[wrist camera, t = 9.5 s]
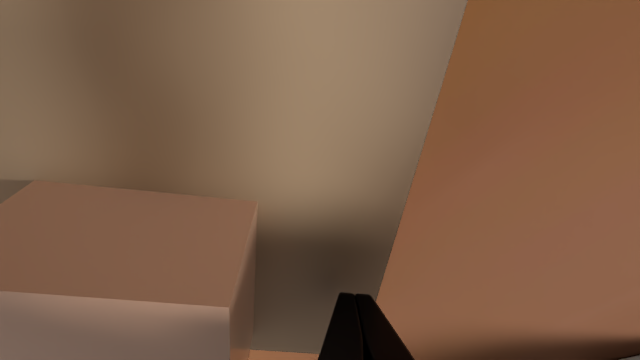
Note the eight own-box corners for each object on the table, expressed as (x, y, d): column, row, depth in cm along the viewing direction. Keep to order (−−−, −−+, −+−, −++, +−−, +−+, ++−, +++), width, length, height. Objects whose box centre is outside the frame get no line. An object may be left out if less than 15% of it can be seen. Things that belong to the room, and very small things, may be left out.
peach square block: (257, 201, 8) (229, 307, 5) (253, 333, 10) (231, 450, 8) (35, 180, 8) (-113, 282, 5) (85, 322, 10) (4, 440, 7)
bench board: (493, -236, 6) (568, -331, 4) (352, 306, 13) (359, 356, 11) (-212, -376, 5) (-494, -569, 3) (51, 283, 12) (6, 334, 10)
